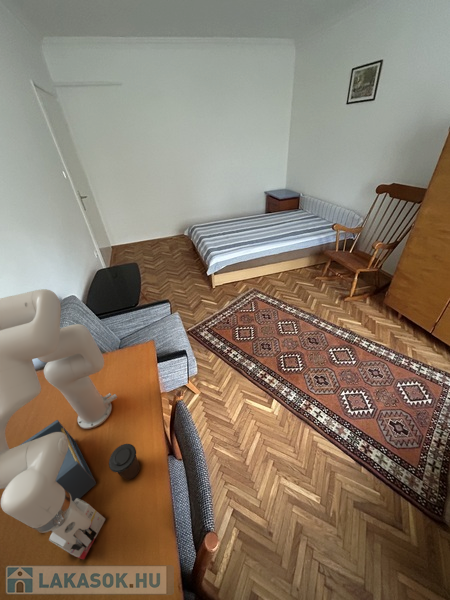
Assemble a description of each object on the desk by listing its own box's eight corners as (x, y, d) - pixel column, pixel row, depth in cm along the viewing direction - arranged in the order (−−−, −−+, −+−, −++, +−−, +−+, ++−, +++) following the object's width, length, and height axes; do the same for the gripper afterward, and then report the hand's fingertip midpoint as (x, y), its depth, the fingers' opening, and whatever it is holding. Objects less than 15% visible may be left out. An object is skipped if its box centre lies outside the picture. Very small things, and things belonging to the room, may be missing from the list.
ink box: (83, 561, 62) (62, 549, 55) (69, 553, 63) (46, 541, 57) (106, 518, 69) (90, 503, 62) (93, 512, 70) (75, 497, 64)
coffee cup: (119, 490, 74) (107, 476, 69) (117, 463, 81) (107, 448, 75) (145, 476, 77) (136, 462, 71) (142, 452, 83) (133, 437, 77)
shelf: (75, 440, 88) (57, 419, 81) (96, 483, 76) (77, 463, 69) (28, 475, 80) (3, 455, 72) (43, 530, 68) (15, 513, 60)
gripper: (88, 513, 53) (116, 536, 63) (47, 470, 61) (78, 496, 71) (53, 556, 47) (90, 574, 57) (14, 503, 55) (52, 526, 65)
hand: (83, 531), depth 64 cm, fingers closed on ink box, 5 cm apart
